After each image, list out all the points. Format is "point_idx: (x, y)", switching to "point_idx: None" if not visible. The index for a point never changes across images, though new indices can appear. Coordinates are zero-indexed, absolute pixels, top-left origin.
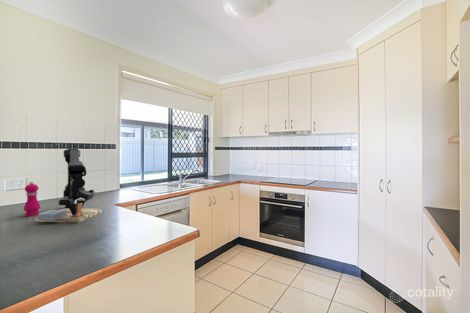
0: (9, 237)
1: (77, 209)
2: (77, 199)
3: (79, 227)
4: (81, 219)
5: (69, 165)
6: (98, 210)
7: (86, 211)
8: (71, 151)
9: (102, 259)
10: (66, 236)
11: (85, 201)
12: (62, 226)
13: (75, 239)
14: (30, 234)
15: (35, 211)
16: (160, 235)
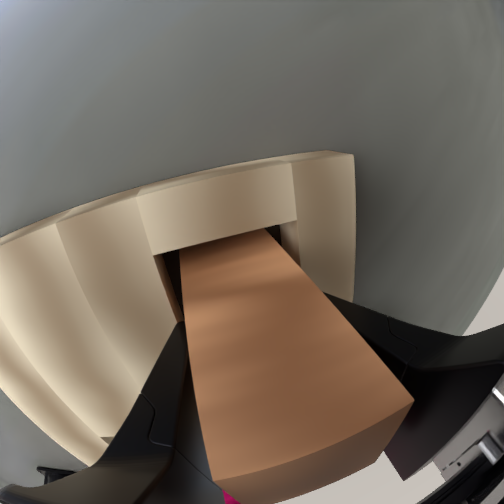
0: (486, 291)
1: (338, 317)
2: (496, 496)
3: (422, 45)
4: (286, 158)
5: None
6: None
7: (51, 358)
8: None
9: None
10: (494, 53)
11: (89, 494)
12: (422, 205)
13: (489, 5)
14: (485, 252)
15: (233, 502)
16: None
